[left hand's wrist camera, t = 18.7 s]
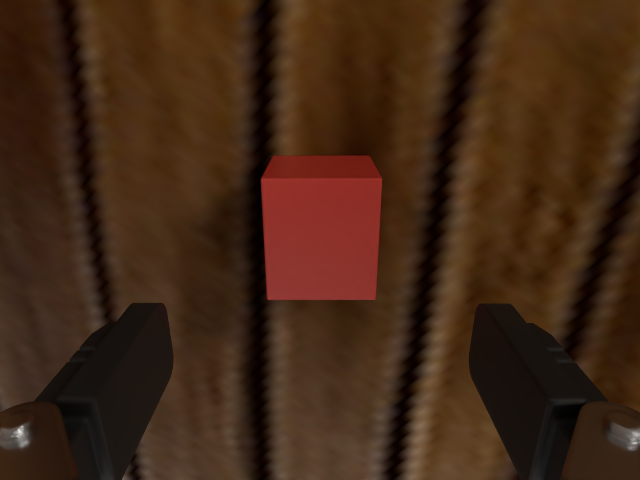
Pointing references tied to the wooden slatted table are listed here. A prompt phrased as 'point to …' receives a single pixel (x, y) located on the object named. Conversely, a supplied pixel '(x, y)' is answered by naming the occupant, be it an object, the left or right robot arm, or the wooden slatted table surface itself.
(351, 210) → the block
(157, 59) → the wooden slatted table surface
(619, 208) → the wooden slatted table surface
